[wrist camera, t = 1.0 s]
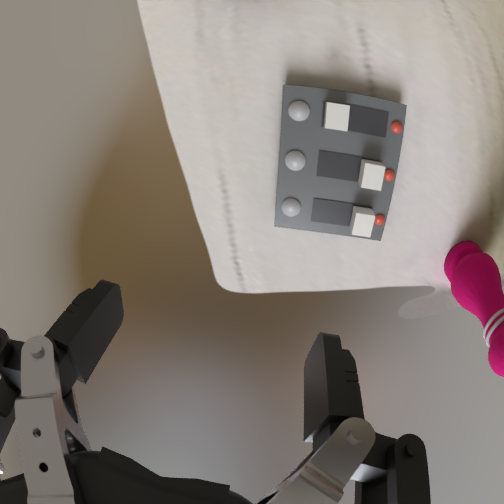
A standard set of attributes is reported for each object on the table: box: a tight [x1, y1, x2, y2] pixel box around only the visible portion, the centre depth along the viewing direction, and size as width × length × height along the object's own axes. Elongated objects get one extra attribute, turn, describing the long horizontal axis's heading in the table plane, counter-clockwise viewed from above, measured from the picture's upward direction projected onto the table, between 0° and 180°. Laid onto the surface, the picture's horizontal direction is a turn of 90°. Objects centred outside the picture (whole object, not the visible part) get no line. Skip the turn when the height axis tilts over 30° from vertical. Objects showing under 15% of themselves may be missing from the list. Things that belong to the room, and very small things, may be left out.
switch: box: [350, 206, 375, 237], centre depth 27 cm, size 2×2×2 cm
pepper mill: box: [444, 241, 504, 377], centre depth 21 cm, size 7×7×20 cm
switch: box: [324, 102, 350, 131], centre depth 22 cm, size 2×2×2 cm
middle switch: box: [358, 159, 385, 191], centre depth 24 cm, size 2×2×2 cm
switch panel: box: [274, 85, 407, 241], centre depth 26 cm, size 15×12×2 cm
